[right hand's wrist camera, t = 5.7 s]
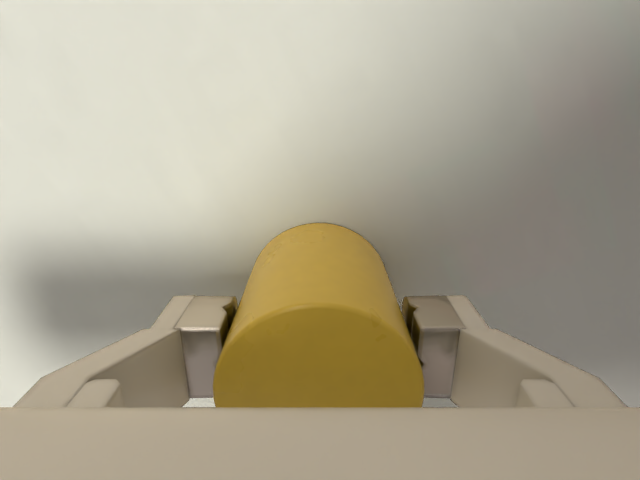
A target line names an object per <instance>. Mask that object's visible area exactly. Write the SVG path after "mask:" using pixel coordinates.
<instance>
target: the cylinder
mask: <svg viewBox="0 0 640 480" xmlns="http://www.w3.org/2000/svg"><path fill="white" fill-rule="evenodd" d="M213 398H214V402H215V406H216V407H422V404H423V398H424V377H423V371H422V367H421V365H420V362H419V359H418V356H417V353H416V351H415V348H414V345H413V343H412V340H411V337H410V335H409V332H408V329H407V326H406V324H405V321H404V318H403V316H402V313H401V310H400V308H399V305H398V302H397V299H396V297H395V294H394V291H393V289H392V286H391V283H390V281H389V278H388V275H387V272H386V270H385V267H384V264H383V262H382V260H381V258H380V256H379V254H378V253H377V252H376V250H375V249H374V247H373V246H372V245H371V244H370V243H369V242H368V241H367V240H365V239H364V238H363V237H362V236H360V235H359V234H357V233H355V232H353V231H351V230H349V229H347V228H345V227H341V226H338V225H333V224H327V223H312V224H305V225H300V226H297V227H294V228H291V229H289V230H287V231H285V232H283V233H281V234H279V235H278V236H277V237H275V238H274V239H273V240H271V241H270V242H269V243H268V244H267V245H266V246H265V248H264V249H263V250H262V251H261V253H260V255H259V256H258V258H257V260H256V262H255V264H254V267H253V269H252V272H251V275H250V277H249V280H248V283H247V285H246V288H245V291H244V293H243V296H242V298H241V301H240V304H239V306H238V309H237V312H236V314H235V317H234V320H233V322H232V325H231V327H230V330H229V333H228V335H227V338H226V341H225V343H224V346H223V349H222V351H221V354H220V356H219V359H218V362H217V364H216V368H215V372H214V377H213Z"/></svg>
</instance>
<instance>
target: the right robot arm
mask: <svg viewBox="0 0 640 480" xmlns="http://www.w3.org/2000/svg"><path fill="white" fill-rule="evenodd" d="M237 309H238V304H237V299H236V297H235V296H195V295H185V296H173V298H172V299H171V300H170V302H169V303H168V304H167V306H166V307H165V309H164V310H163V311H162V313H161V314H160V315H159V317H158V318H157V320H156V321H155V322H154V324H153V325H152V326H151V328H150V329H142V330H140V331H138V332H136V333H134V334H132V335H130V336H128V337H125V338H123V339H121V340H119V341H117V342H115V343H113V344H111V345H109V346H107V347H105V348H102V349H100V350H98V351H96V352H94V353H92V354H90V355H88V356H86V357H84V358H81V359H79V360H77V361H75V362H73V363H71V364H69V365H67V366H65V367H63V368H61V369H58V370H56V371H54V372H52V373H50V374H48V375H46V376H44V377H42V378H40V380H39V381H38V382H37V383H36V384H35V385H34V386H33V387H32V388H31V389H30V390H29V391H28V392H27V393H26V394H25V395H24V396H23V397H22V398H21V399H20V400H19V401H18V402H17V403H16V404H15V405H14V406H13V407H0V480H640V407H627V406H626V405H625V404H624V403H623V402H622V401H621V400H620V399H619V398H618V397H617V396H616V395H615V394H614V392H613V391H612V390H611V389H610V388H609V387H608V386H607V385H606V384H605V383H604V382H603V381H602V380H601V379H600V378H598V377H596V376H594V375H592V374H590V373H588V372H586V371H583V370H581V369H579V368H577V367H575V366H573V365H571V364H569V363H567V362H565V361H563V360H560V359H558V358H556V357H554V356H552V355H550V354H548V353H546V352H544V351H542V350H540V349H538V348H535V347H533V346H531V345H529V344H527V343H525V342H523V341H521V340H519V339H517V338H515V337H512V336H510V335H508V334H506V333H504V332H502V331H500V330H498V329H490V328H489V326H488V325H487V324H486V322H485V321H484V320H483V318H482V317H481V315H480V314H479V313H478V311H477V310H476V309H475V307H474V306H473V305H472V303H471V302H470V301H469V299H468V298H467V297H466V296H464V295H456V296H406V297H404V299H403V303H402V315H403V318H404V321H405V324H406V326H407V329H408V332H409V335H410V337H411V340H412V343H413V345H414V348H415V351H416V353H417V356H418V359H419V362H420V365H421V367H422V371H423V377H424V397H429V398H451V399H450V400H451V401H452V402H454V403H455V404H456V405H457V406H458V407H182V406H183V405H184V404H186V403H187V402H188V401H189V398H210V397H213V377H214V372H215V368H216V364H217V362H218V359H219V356H220V354H221V351H222V349H223V346H224V343H225V341H226V338H227V335H228V333H229V330H230V327H231V325H232V322H233V320H234V317H235V314H236V312H237Z"/></svg>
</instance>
